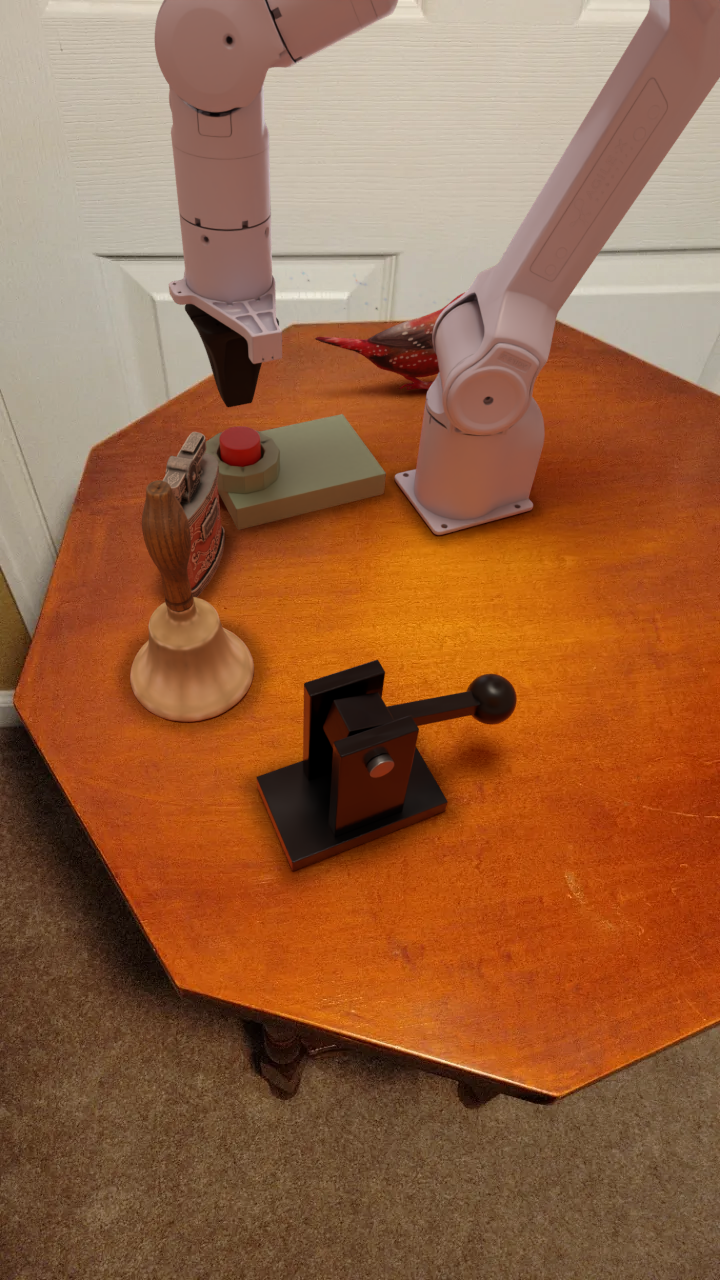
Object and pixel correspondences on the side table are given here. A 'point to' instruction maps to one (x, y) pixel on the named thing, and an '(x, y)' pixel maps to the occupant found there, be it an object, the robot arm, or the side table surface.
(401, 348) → the decorative bird figurine
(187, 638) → the hand bell
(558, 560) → the side table surface
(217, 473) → the lighter
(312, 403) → the side table surface
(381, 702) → the black lever handle
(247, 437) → the button
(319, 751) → the lever base
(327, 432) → the button box
